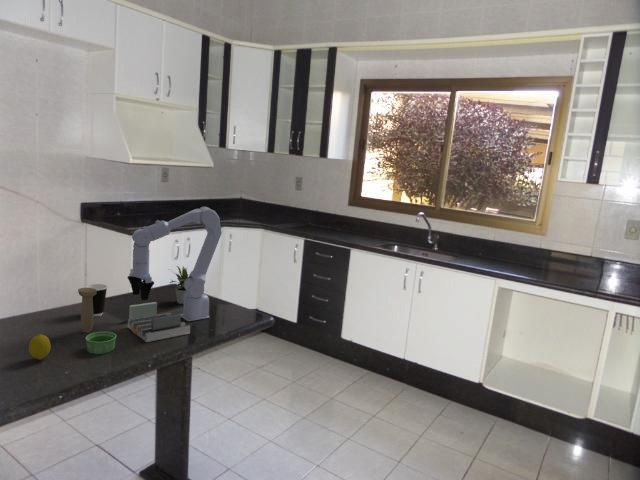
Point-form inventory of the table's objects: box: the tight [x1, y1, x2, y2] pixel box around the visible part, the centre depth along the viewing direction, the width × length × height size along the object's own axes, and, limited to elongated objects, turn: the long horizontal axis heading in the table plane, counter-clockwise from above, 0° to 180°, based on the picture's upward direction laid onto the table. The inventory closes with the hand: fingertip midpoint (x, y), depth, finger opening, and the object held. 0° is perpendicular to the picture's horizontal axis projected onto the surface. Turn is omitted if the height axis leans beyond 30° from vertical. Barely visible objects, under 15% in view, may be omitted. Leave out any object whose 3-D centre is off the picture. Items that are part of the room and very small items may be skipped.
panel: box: [128, 301, 158, 319], centre depth 179 cm, size 10×2×6 cm, turn 133°
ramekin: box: [84, 331, 117, 355], centre depth 150 cm, size 9×9×4 cm
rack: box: [127, 312, 191, 343], centre depth 169 cm, size 16×16×7 cm
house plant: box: [168, 265, 189, 305], centre depth 202 cm, size 14×14×16 cm
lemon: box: [28, 333, 52, 361], centre depth 139 cm, size 6×6×8 cm
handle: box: [77, 287, 97, 334], centre depth 162 cm, size 5×6×15 cm
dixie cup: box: [84, 283, 108, 317], centre depth 179 cm, size 8×8×11 cm
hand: (140, 297), depth 176 cm, fingers open, 7 cm apart
